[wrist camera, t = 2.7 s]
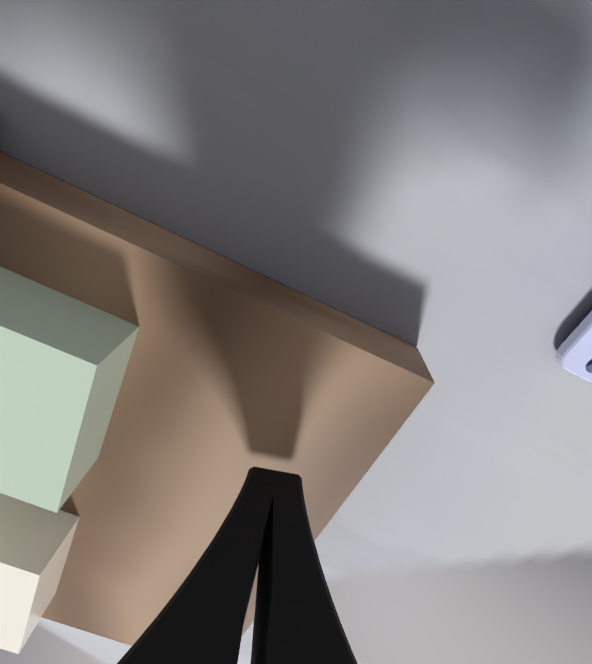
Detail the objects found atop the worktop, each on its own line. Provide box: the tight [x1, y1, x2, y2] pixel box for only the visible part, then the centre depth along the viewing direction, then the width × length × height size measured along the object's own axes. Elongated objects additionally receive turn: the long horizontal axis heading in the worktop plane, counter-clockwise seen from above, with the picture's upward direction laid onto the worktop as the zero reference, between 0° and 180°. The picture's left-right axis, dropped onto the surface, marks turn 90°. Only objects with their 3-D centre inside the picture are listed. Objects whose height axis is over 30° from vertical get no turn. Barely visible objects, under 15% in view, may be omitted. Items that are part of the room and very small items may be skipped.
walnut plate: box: [0, 152, 434, 646], centre depth 13 cm, size 13×17×2 cm
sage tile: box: [0, 267, 139, 513], centre depth 9 cm, size 5×5×2 cm
